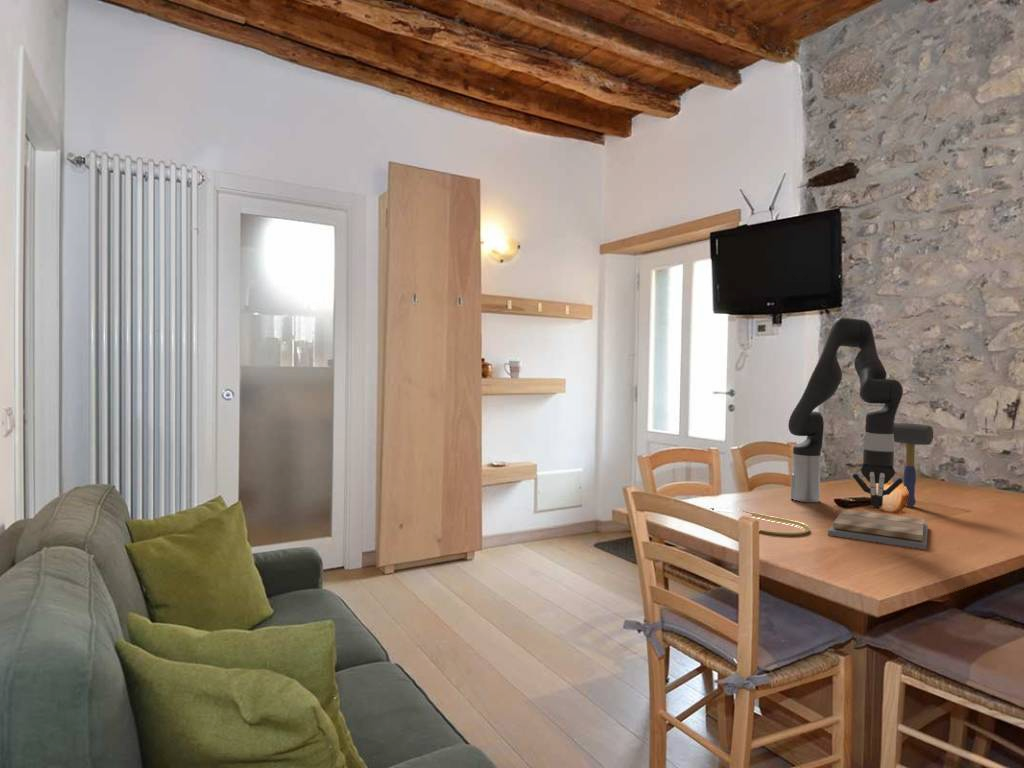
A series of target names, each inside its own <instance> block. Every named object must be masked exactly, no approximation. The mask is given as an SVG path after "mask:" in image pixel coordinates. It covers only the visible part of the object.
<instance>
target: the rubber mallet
mask: <svg viewBox="0 0 1024 768" xmlns="http://www.w3.org/2000/svg"><path fill="white" fill-rule="evenodd" d="M893 434H894V443H901V444H906V450H905V451H906V452H905V466H904V469H903V476H902V478H903V487H904V486H906V487H907V489H908V491H909V498H908V502H907V506H906V507H907V508H913V507H914V506H915V505H916V498H915V494H916V493H915V491H916V490H915V489H916V482H917V473H916V467H915V454H916V453H915V449H916V448H915V447H916V445H919V446H920V445H922V446H923V445H924V446H929V445H931V444H932V442H933V439H934V430H933V427H932V426H931V425H927V424H921V423H919V424H918V423H911V422H910V423H909V422H908V423H906V422H894V433H893Z"/></svg>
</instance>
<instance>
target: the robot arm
mask: <svg viewBox="0 0 1024 768" xmlns="http://www.w3.org/2000/svg"><path fill="white" fill-rule="evenodd" d="M840 347H848V348H849V347H850V348H858V349H860V351H859V352H858V353H857V355H856V356H855V358H854V361H853V363H854V369H855V372H856V374H857V375H858V377H859V384H860V385H859V386H860V387H859V396H860V399H861V400H862V401H864V402H865V403H867V404H876V405H877V404H883V405H884V406H883V407H882V408H881V409H880V410H874V411H870V412H867V414H866V415H865V428H864V430H865V432H864V437H863V445H862V446H863V450H862V451H863V456H862V457H863V458H862V466H861V468H860V471H858V472H854V473H853V474H852V478H853V479H854V480H855V481H856V483H857V484H858V486H859V487H860V488H861V489H862V491H863V492H865V493H868V494H870V506H871V507H872V508H873V509H875V510H876V509H878V510H880V508H882V506H883V503H884V502H883V501H884V496H888V495H891V493H892V492H893V491H895V490H896V489H897V488H898V487H899V486H900V485H901V484H902V483H904V481H903V477H901V476H899V475H897V473H896V471H895V468H894V464H895V463H894V459H895V442H894V434H893V433H894V423H895V418H896V415H897V411H898V409H899V406H900V403H901V400H902V397H903V394H904V393H903V392H904V389H903V386H902V383H901V382H900V381H899V380H897V379H891V378H890V379H889V378H888V379H887V371H886V369H885V366H884V365H883V363H882V361H881V360H880V357H879V354H878V351H877V346H876V342H875V337H874V333H873V330H872V326H871V324H870V323H869V321H867V320H863V319H857V318H849V317H837V318H836V319H835V320H834V322H833V323H832V325H831V327H830V330H829V332H828V335H827V338H826V341H825V344H824V347H823V348H822V352H821V354H820V357H819V358H818V361H817V364H816V365H815V367H814V370H813V371H812V374H811V375H810V378H809V380H808V383H807V385H806V387H805V390H804V392H803V393H802V395H801V397H800V400H799V401H798V403H797V404H796V406H795V408H794V409H793V411H791V414H790V417H789V420H788V430H789V433H790V434H791V435H794V436H797V437H806V439H805V440H804V441H802V442H800V443H798V444H794V446H793V448H792V450H793V451H792V473H791V475H790V477H791V478H790V480H791V481H790V500H791V499H793V501H796V500H797V501H798V502H802V503H819V502H820V497H821V496H820V490H821V489H820V487H821V486H820V485H821V482H820V481H821V452H822V449H823V439H824V427H825V423H824V417H823V415H822V414H821V413H820V412H819V411H815V409H817V408H818V407H819V406H820V405H822V404H823V403H826V402H827V400H829V399H830V398H831V397H833V396H834V394H835V393H836V391H837V390H838V388H839V386H840V384H841V382H842V380H843V373H842V369H841V365H840V364H839V361H838V357H837V353H838V350H839V348H840ZM863 478H865V479H866V481H867V482H869V484H870V485H869V486H868V485H867V483H866V482H865V481H864V480H863ZM892 478H893V479H892ZM891 479H892V484H891V485H890V486H888V488H886V489H885V485H886V484H888V483H889V481H890V480H891ZM877 484H878V486H877ZM877 487H878V489H877ZM797 501H796V502H797Z"/></svg>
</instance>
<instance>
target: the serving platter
mask: <svg viewBox="0 0 1024 768" xmlns="http://www.w3.org/2000/svg"><path fill="white" fill-rule="evenodd" d="M709 508H710V509H712V510H714V508H715V507H709ZM726 508H727V507H726ZM727 509H729V508H727ZM739 510H740V509H739ZM740 511H743V512H746V513H750V514H752V516H754V517H753V518H755V517H758V518H757V519H760V518H766V519H771V520H776V521H780V522H785V523H789V524H792V525H791V526H793V525H796V526H795V527H797V526H799V527H801V528H803V529H804V530H805V532H804V530H803V529H802V530H803V531H799V532H781V531H780V532H779V531H771V530H765V529H761V528H759V529H760V532H761V533H760V532H759V533H760V534H765V535H766V534H767V535H771V534H772V535H771V536H781V537H796V536H797V537H798V536H803V535H806V534H807V533H809V532H810V531H811V527H810V526H809V525H808V524H806V523H803V522H801V521H797V520H792V519H787V518H782V517H777V516H771V515H766V514H762V513H759V512H751V511H746V510H740ZM780 522H779V523H780ZM785 523H784V524H785ZM789 524H788V525H789ZM799 527H798V528H799ZM801 528H800V529H801Z"/></svg>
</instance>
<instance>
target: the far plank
mask: <svg viewBox="0 0 1024 768" xmlns="http://www.w3.org/2000/svg"><path fill="white" fill-rule="evenodd" d="M840 512H841V513H839V514H845V515H853V516H861V517H868V518H876V519H883V520H891V521H899V522H906V523H914V524H922V525H923V528H924V523H925V519H923V518H915V517H908V516H902V515H901V516H900V515H893V514H886V513H885V514H884V513H877V512H869V511H860V510H853V509H845V508H843V509H842V510H841V511H840Z"/></svg>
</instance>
